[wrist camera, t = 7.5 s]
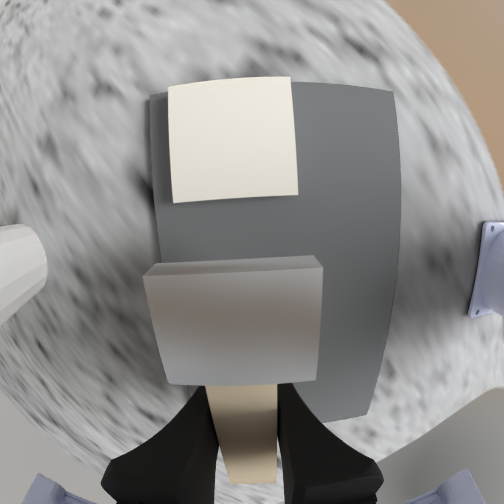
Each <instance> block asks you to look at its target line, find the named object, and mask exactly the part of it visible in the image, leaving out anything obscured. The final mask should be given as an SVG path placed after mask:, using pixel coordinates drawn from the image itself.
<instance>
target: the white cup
mask: <svg viewBox="0 0 504 504" xmlns="http://www.w3.org/2000/svg"><path fill="white" fill-rule="evenodd" d="M47 275H48V273H47V259H46V255H45V251H44V248H43V245H42V243H41V242H40V240H39V238H38V236H37V234H36V233H35V232H34V231H33V230H32V229H31V228H30V227H29V226H26V225H23V224H14V225H8V226H2V227H0V327H1V326H2V325H3V324H4V323H5V322H6V321H7V320H8V319H9V318H10V317H11V316H12V315H13V314H14V313H16V312H17V311H18V310H19V309H20V308H21V307H22V306H23V305H24V304H25V303H27V302H28V301H29V300H30V299H31V298H32V297H33V296H35V295H36V294H37V293H38V292H39V291H40V290H41V289H42V288H43V287H44V286H45V282H46V279H47Z"/></svg>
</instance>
